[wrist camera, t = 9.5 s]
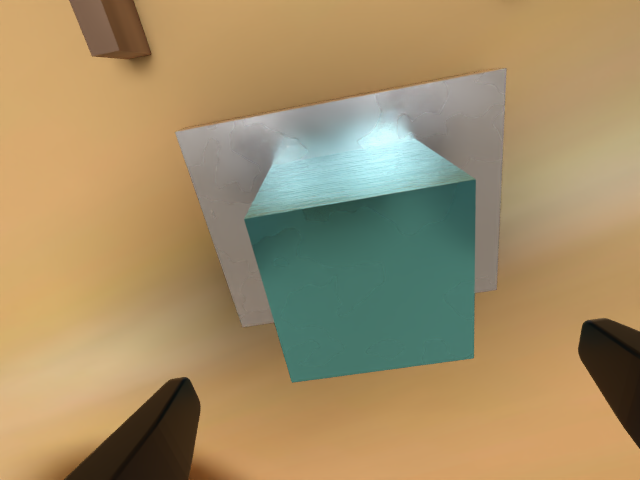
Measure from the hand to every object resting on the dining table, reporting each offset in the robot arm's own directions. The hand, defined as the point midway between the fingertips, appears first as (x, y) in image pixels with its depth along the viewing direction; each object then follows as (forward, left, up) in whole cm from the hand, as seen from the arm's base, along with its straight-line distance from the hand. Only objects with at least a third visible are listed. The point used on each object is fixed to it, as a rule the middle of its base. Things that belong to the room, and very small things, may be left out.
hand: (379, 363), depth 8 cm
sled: (0, 0, -10) cm, 10 cm away
